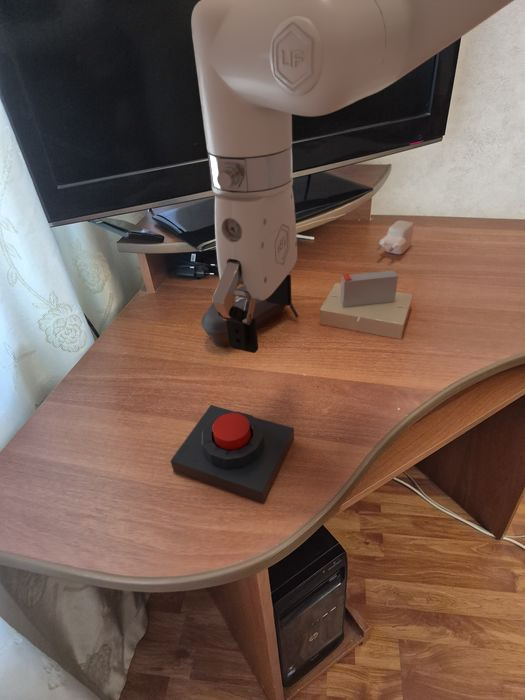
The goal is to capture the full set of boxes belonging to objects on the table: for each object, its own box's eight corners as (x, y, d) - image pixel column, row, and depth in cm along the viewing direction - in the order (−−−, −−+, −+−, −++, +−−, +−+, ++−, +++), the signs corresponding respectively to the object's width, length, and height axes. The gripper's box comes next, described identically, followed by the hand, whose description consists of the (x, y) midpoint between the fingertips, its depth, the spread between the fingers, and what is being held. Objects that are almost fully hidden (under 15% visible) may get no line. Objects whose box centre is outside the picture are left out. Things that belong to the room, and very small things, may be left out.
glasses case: (261, 291, 85) (269, 261, 79) (299, 326, 81) (311, 297, 75) (186, 332, 75) (189, 301, 69) (226, 373, 72) (233, 344, 66)
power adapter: (392, 267, 92) (396, 240, 88) (371, 261, 94) (373, 235, 90) (413, 247, 98) (417, 221, 95) (393, 242, 101) (396, 217, 97)
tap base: (412, 303, 80) (414, 288, 78) (399, 345, 71) (401, 329, 69) (337, 292, 85) (338, 277, 83) (316, 329, 76) (316, 313, 74)
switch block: (294, 439, 56) (293, 418, 54) (263, 503, 49) (261, 482, 47) (212, 415, 61) (208, 394, 58) (173, 472, 54) (167, 450, 51)
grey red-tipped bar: (390, 295, 77) (394, 268, 74) (394, 302, 75) (398, 274, 72) (339, 300, 77) (341, 274, 73) (343, 307, 75) (344, 280, 72)
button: (256, 428, 54) (255, 418, 52) (240, 455, 50) (239, 445, 49) (224, 418, 55) (223, 409, 54) (207, 444, 52) (205, 434, 51)
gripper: (247, 205, 32) (261, 379, 43) (320, 146, 44) (317, 293, 55) (162, 197, 35) (195, 362, 45) (253, 143, 47) (262, 284, 58)
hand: (262, 324), depth 50 cm, fingers open, 9 cm apart
